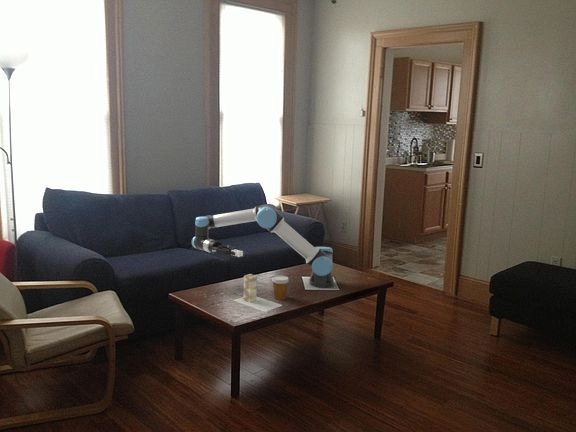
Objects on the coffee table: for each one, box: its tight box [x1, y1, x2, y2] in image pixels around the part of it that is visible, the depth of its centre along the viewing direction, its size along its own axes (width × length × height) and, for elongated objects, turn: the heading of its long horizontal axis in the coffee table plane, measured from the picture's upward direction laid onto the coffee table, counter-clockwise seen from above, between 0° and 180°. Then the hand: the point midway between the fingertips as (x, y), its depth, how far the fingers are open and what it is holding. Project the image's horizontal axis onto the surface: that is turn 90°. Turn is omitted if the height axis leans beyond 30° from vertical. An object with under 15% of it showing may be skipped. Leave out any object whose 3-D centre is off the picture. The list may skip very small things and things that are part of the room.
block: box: [242, 273, 258, 302], centre depth 289 cm, size 5×5×14 cm
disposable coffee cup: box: [271, 275, 290, 301], centre depth 295 cm, size 10×10×12 cm
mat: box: [233, 295, 283, 313], centre depth 287 cm, size 24×14×1 cm, turn 49°
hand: (241, 254), depth 291 cm, fingers closed
